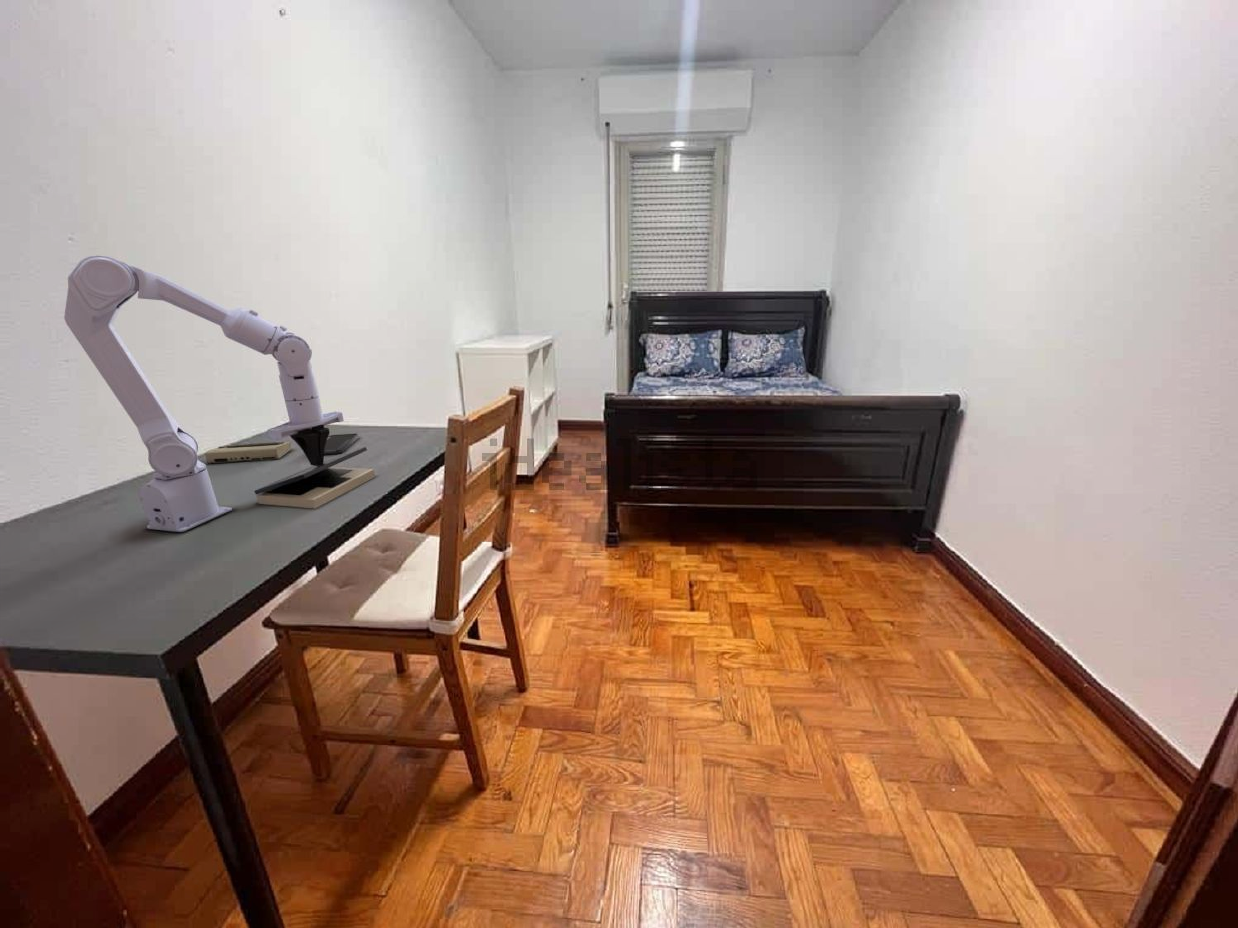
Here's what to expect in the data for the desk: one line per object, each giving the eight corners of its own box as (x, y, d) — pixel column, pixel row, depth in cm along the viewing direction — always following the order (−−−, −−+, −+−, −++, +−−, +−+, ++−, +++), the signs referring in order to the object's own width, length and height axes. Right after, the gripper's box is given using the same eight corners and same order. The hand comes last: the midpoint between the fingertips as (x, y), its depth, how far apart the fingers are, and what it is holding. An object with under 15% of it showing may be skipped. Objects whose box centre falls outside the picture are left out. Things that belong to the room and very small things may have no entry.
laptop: (375, 476, 112) (373, 468, 111) (315, 508, 96) (313, 499, 96) (324, 473, 115) (322, 465, 114) (258, 503, 99) (256, 494, 99)
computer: (292, 449, 133) (289, 437, 132) (278, 459, 125) (275, 446, 124) (226, 454, 131) (222, 441, 129) (207, 464, 123) (203, 451, 122)
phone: (306, 451, 127) (328, 435, 141) (307, 456, 127) (329, 439, 141) (340, 449, 128) (359, 433, 142) (341, 453, 128) (360, 437, 142)
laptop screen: (367, 450, 110) (365, 446, 110) (305, 478, 95) (302, 474, 94) (322, 465, 114) (321, 462, 114) (256, 495, 99) (253, 491, 98)
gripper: (320, 389, 107) (333, 452, 111) (250, 404, 94) (268, 474, 99) (345, 391, 104) (358, 455, 109) (276, 407, 92) (294, 478, 96)
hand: (317, 464), depth 104 cm, fingers closed, pressing on laptop screen
